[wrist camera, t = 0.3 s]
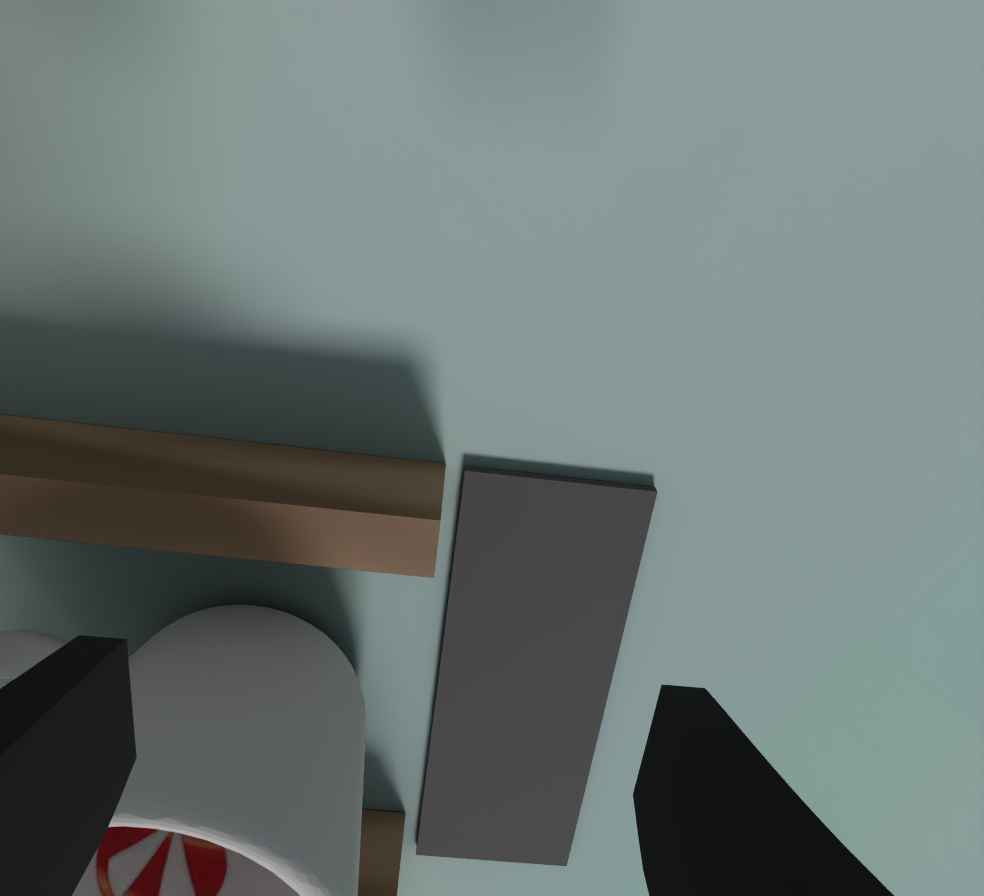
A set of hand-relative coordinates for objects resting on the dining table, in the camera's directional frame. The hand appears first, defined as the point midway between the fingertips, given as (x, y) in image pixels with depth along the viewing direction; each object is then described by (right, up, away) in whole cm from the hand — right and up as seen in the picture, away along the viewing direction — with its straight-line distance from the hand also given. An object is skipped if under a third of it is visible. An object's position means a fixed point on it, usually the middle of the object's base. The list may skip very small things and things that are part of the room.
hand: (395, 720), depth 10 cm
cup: (-7, -2, +12) cm, 14 cm away
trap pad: (+2, -3, +12) cm, 13 cm away
